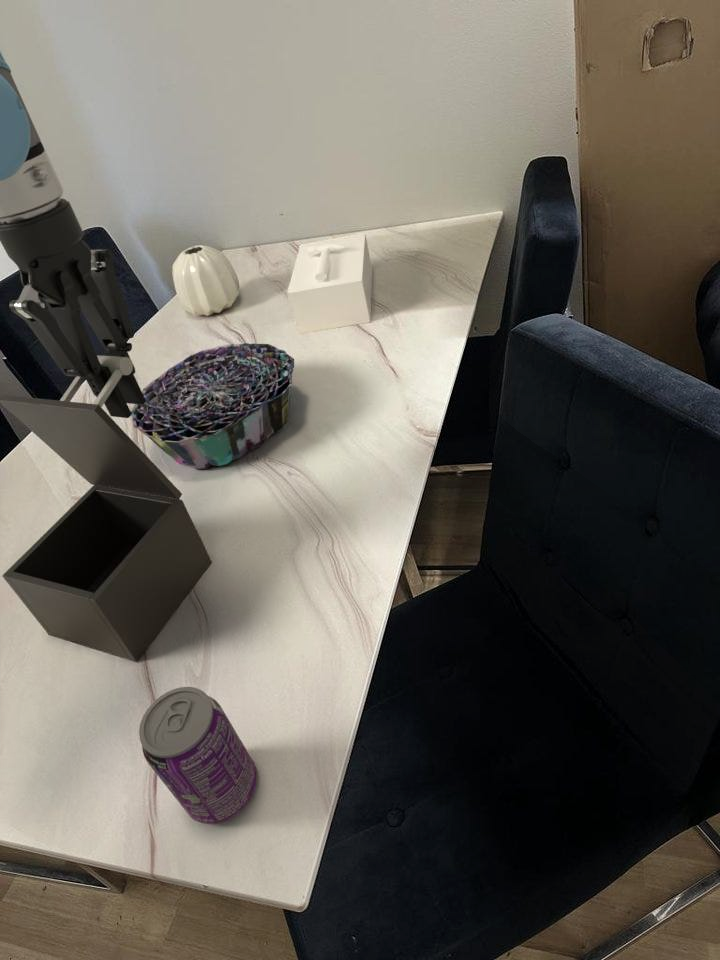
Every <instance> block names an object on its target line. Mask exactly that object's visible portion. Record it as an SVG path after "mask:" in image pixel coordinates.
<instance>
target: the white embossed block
mask: <svg viewBox="0 0 720 960" xmlns="http://www.w3.org/2000/svg"><path fill="white" fill-rule="evenodd" d="M372 287H373V266H372V261H371V256H370V251H369V244H368V240H367V235H366V232H362V233H355V234H351V235H345V236H344V235H343V236H340V237H333V238H329V239H323V240H317V241H312V242H306V243H301V244H299V248H298V251H297V255H296V258H295V263H294V266H293V270H292V274H291V278H290V281H289V285H288V288H287V291H286V295H287V298H288V302H289V305H290V309H291V312H292V316H293V320H294V323H295V327H296V331H297V334H298V335H301V334H307V333H313V332H319V331H325V330H333V329H339V328H344V327H351V326H357V325H363V324H368V323H371V315H372V314H371V311H372V292H373V291H372V289H373V288H372Z"/></svg>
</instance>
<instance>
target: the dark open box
mask: <svg viewBox="0 0 720 960" xmlns="http://www.w3.org/2000/svg"><path fill="white" fill-rule="evenodd" d="M212 563H213V561H212V559H211V557H210V554H209V552H208V550H207V548H206V546H205V544H204V543H203V539H202V538H201V536H200V534H199V531H198V530H197V528H196V525H195V523H194V522H193V519H192V518H191V515H190V513H189V511H188V510H187V506H186V505H185V503H184V501H183V499H181V498H180V499H174V498H168V497H162V496H156V495H151V494H145V493H139V492H133V491H127V490H121V489H115V488H109V487H103V486H98V485H92V486H91V487H90V489H88V490H87V491H86V492H85V493H84V494H83V496H81V497H80V498H79V499H78V500H77V501H76V502H74V504H73V505H72V506H71V507H70V508H69V509H68V510H67V511H66V512H65V513H64V514H62V515H61V517H60V518H59V519H58V520H56V522H55V523H54V524H53V525H52V526H51V527H50V528H49V529H48V530H47V531H46V532H45V533H44V534H42V536H40V537H39V539H38V540H36V542H34V543H33V545H31V546H30V548H29V549H28V550H26V551H25V552H24V553H23V554H22V555H21V556H20V557H19V558H18V559H17V560H16V561H15V562H14V563H13V564H12V565H11V566H10V567H9V568H8V569H7V570H6V571H5V572H4V573H3V574H2V575H1V576H2V578H3V579H4V580H5V582H6V583H7V585H8V586H9V587H10V588H11V589H12V590H13V592H14V593H15V594H16V596H17V597H18V598H19V599H20V600H21V602H22V603H23V604H24V606H25V607H26V608H27V609H28V611H29V612H30V613H31V614H32V616H33V617H34V618H35V619H36V621H37V622H38V623H39V625H40V626H41V627H42V628H43V630H44V631H45V632H46V633H47V635H48V636H51V637H53V638H54V637H55V638H58V639H61V640H63V641H67V642H71V643H74V644H76V645H80V646H82V647H85V648H89V649H93V650H95V651H99V652H103V653H106V654H108V655H111V656H115V657H118V658H122V659H125V660H128V661H132V662H134V663H138V662H139V661H140V659H141V658H142V657H143V655H144V654H145V653H146V651H147V650H148V649H149V647H150V646H151V645H152V643H153V642H154V640H155V639H156V638H157V637H158V635H159V634H160V633H161V632H162V630H163V628H164V627H165V626H166V624H167V623H168V622H169V621H170V619H171V618H172V617H173V615H174V614H175V612H176V611H177V610H178V608H179V607H180V605H181V604H182V603H183V602H184V600H185V599H186V598H187V596H188V595H189V594H190V592H191V591H192V590H193V588H194V587H195V586H196V584H197V583H198V582H199V580H200V579H201V578H202V576H203V575H204V574H205V572H206V571H207V570H208V568H209V567H210V566H211V564H212Z"/></svg>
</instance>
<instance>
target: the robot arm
mask: <svg viewBox="0 0 720 960" xmlns="http://www.w3.org/2000/svg"><path fill="white" fill-rule="evenodd" d="M63 194H64V187H63V185H62V183H61V181H60V178H59V177H58V175H57V172H56V170H55V168H54V166H53V164H52V161H51V160H50V157H49V155H48V153H47V151H46V149H45V147H44V145H43V143H42V140H41V138H40V135H39V133H38V131H37V129H36V126H35V124H34V122H33V120H32V117H31V116H30V113H29V111H28V109H27V107H26V104H25V102H24V99H23V97H22V95H21V93H20V91H19V89H18V87H17V84H16V82H15V80H14V78H13V76H12V69H11V68H10V66H9V65H8V63H7V62H6V60H5V58H4V56H3V54H2V52H1V51H0V244H1V245H2V247H3V249H4V251H5V253H6V254H7V256H8V258H9V259H10V260H11V261H12V262H13V263H14V264H15V265H16V267H17V268H18V271H19V274H20V282H21V285H22V286H23V288H22V291H21V293H20V295H19V297H18V299H12V300H10V302H9V307H8V308H9V309H10V311H11V312H12V313H14V314H15V315H17V316H18V317H19V318H21V319H22V320H23V321H24V322H26V324H27V325H28V327H29V328H30V329H31V330H32V332H33V334H34V335H35V336H36V338H37V339H38V340H39V342H40V343H41V344H42V346H43V347H44V349H45V350H46V351H47V353H48V354H49V355H50V357H51V358H52V359H53V361H54V362H55V364H56V365H57V367H58V368H59V369H60V370H61V372H62V373H63V375H65V376H67V377H75V378H76V377H85V381H86V383H87V385H88V386H89V388H90V390H91V392H92V393H93V395H94V396H95V397H96V398H97V397H98V395H99V394H100V392H101V391H102V389H103V388H104V386H105V385H106V383H107V382H108V380H109V379H110V377H111V376H112V373H111V371H110V369H109V367H106V366H101V365H100V362H99V360H98V357H97V355H98V354H97V353H96V350H95V348H94V345H93V342H92V340H91V338H90V335H89V332H88V330H87V327H86V325H85V322H84V320H83V318H82V315H81V312H82V314H83V316H84V318H85V319H86V321H87V322H88V323H89V326H90V327H91V328H92V330H93V332H94V334H95V335H96V337H97V339H98V340H99V342H100V344H101V345H102V347H103V349H104V350H105V351H108V352H105V353H104V354H103V355H102V356H116V357H128V358H130V359H131V356H130V355H129V352H131V351H132V349H133V344H132V343H131V342H128V341H129V340H130V339H133V338H134V336H135V330H134V326H133V323H132V321H131V317H130V314H129V312H128V309H127V305H126V303H125V299H124V297H123V294H122V291H121V287H120V284H119V281H118V278H117V275H116V273H115V264H114V263H115V262H114V253H113V251H112V250H111V249H108V248H107V249H105V248H104V249H91V248H90V247H89V245H88V243H86V242H85V241H84V240H83V239H82V238H83V235H84V231H83V229H82V226H81V224H80V222H79V220H78V218H77V215H76V213H75V211H74V209H73V207H72V204H71V202H70V201H68V200H67V199H65V198H63V197H62V196H63ZM41 299H43V300H44V302H42V301H41ZM46 307H47V309H48V310H46V309H45V308H46ZM51 314H52V315H51ZM53 316H54V318H55V320H56V321H55V320H54V318H53ZM135 374H136V368H135V365H134V364H133V370H132V372H131V373H130V374H129V375H122V377H121V378H120V380H119V381H118V383H117V384H116V386H115V387H114V389H113V390H112V392H111V393H110V395H109V397H108V398H107V400H106V401H105V403H104V404H103V405H104V406H105V408H106V411H108V412H107V413H108V415H109V416H110V417H113V418H122V419H123V418H124V419H129V418H131V417H132V413H131V411H132V410H131V408H130V407H129V405H128V404H131V405H135V404H140V405H143V404H144V403H145V402H146V400H145V397H144V395H143V393H142V390H141V387H140V385H139V383H138V381H137V378H136V377H135Z"/></svg>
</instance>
